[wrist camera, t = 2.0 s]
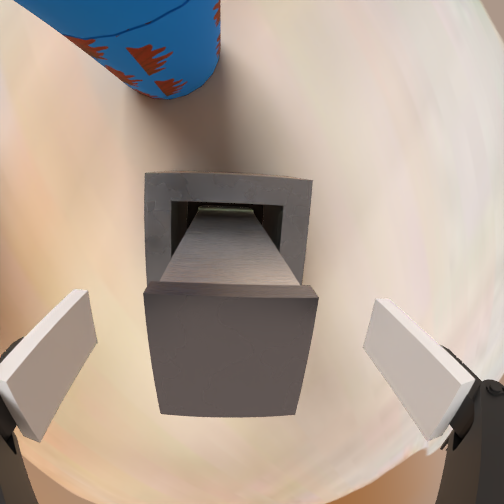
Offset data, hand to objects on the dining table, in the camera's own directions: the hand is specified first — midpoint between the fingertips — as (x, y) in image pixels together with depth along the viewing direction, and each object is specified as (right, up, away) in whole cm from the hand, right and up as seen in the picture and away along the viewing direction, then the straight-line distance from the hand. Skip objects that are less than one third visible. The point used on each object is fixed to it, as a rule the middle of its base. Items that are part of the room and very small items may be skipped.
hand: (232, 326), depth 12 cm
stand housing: (-2, +6, +19) cm, 20 cm away
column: (-2, +6, +19) cm, 20 cm away
